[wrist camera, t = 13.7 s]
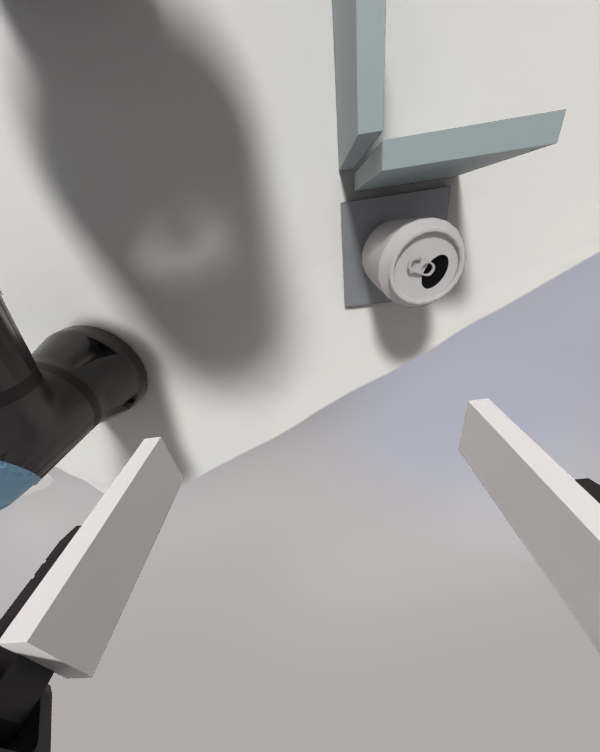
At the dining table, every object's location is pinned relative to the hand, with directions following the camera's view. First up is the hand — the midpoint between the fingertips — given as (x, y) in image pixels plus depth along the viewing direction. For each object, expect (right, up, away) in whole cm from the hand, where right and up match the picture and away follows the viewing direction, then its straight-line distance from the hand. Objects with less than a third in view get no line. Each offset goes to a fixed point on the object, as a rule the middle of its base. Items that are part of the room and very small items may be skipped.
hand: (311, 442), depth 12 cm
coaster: (+11, +18, +21) cm, 30 cm away
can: (+11, +18, +21) cm, 30 cm away
